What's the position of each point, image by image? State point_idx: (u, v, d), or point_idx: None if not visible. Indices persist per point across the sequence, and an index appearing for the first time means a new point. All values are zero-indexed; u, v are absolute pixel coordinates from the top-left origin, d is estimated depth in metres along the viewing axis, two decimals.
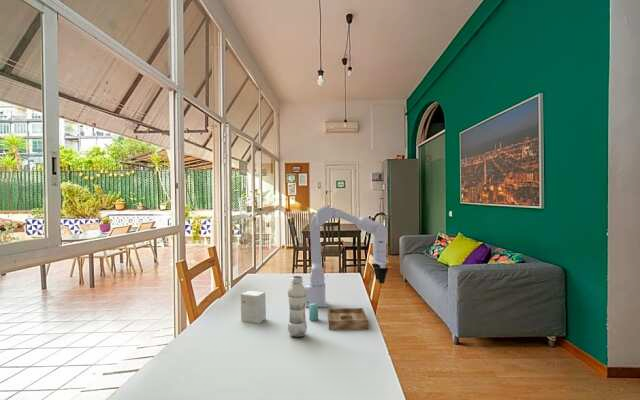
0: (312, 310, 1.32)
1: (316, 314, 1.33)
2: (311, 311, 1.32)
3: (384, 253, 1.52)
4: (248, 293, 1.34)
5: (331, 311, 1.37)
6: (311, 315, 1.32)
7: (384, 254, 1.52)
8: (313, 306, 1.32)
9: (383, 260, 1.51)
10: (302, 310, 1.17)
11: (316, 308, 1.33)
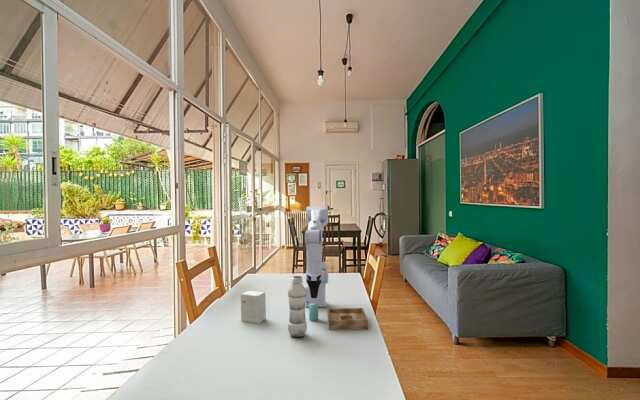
0: (312, 310, 1.32)
1: (316, 314, 1.33)
2: (311, 311, 1.32)
3: (318, 263, 1.32)
4: (248, 293, 1.34)
5: (331, 311, 1.37)
6: (311, 315, 1.32)
7: (318, 264, 1.32)
8: (313, 306, 1.32)
9: (317, 271, 1.32)
10: (302, 310, 1.17)
11: (316, 308, 1.33)
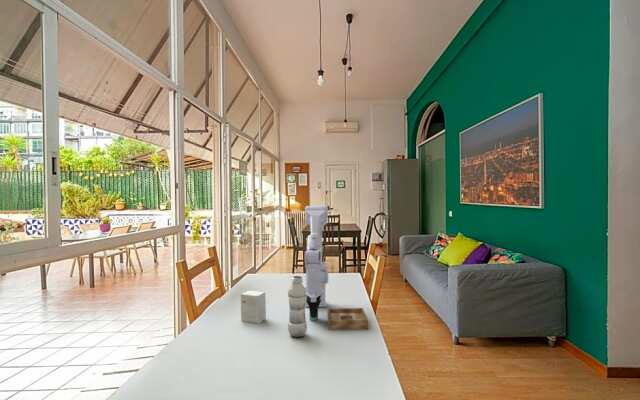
0: None
1: None
2: None
3: (317, 284, 1.32)
4: (248, 293, 1.34)
5: (331, 311, 1.37)
6: None
7: (317, 285, 1.32)
8: None
9: (316, 292, 1.31)
10: (302, 310, 1.17)
11: None
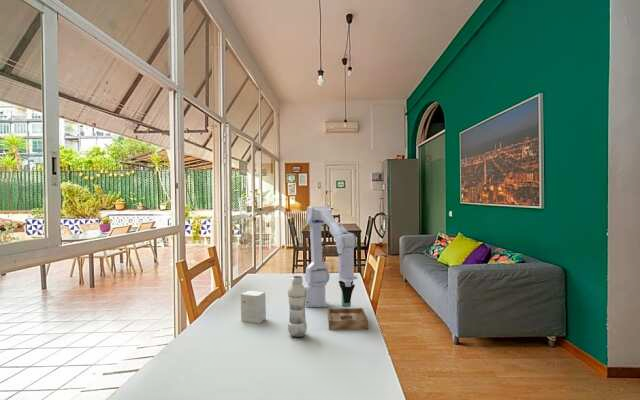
0: None
1: None
2: None
3: (351, 268, 1.28)
4: (248, 293, 1.34)
5: (331, 311, 1.37)
6: None
7: (351, 269, 1.28)
8: None
9: (350, 277, 1.28)
10: (302, 310, 1.17)
11: None
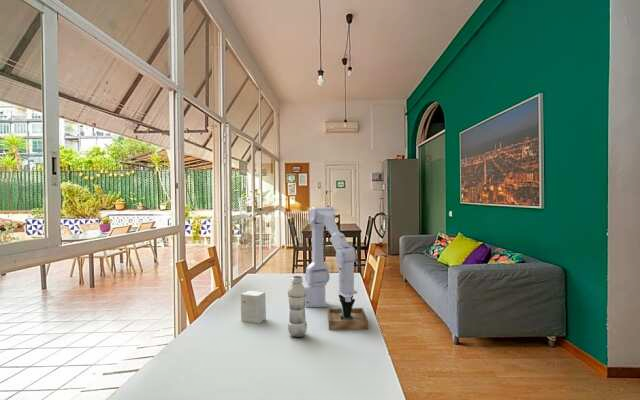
0: None
1: None
2: None
3: (351, 283, 1.28)
4: (248, 293, 1.34)
5: (331, 311, 1.37)
6: None
7: (351, 284, 1.28)
8: None
9: (350, 291, 1.28)
10: (302, 310, 1.17)
11: None
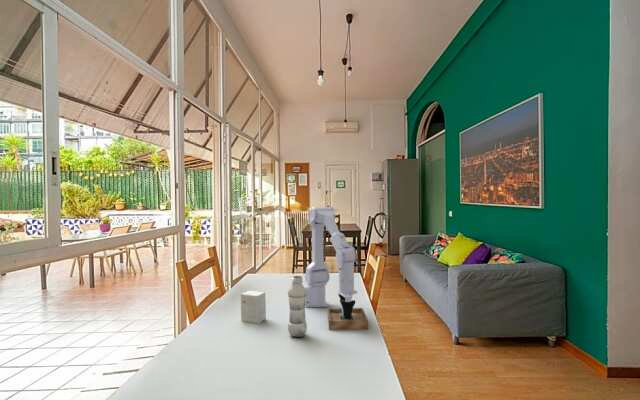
0: None
1: None
2: None
3: (351, 283, 1.28)
4: (248, 293, 1.34)
5: (331, 311, 1.37)
6: (344, 318, 1.29)
7: (351, 284, 1.28)
8: None
9: (350, 291, 1.28)
10: (302, 310, 1.17)
11: None
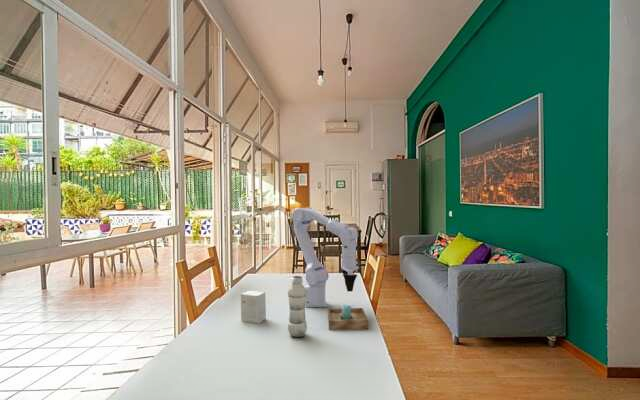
0: (345, 312, 1.29)
1: (349, 317, 1.29)
2: (344, 314, 1.29)
3: (353, 259, 1.42)
4: (248, 293, 1.34)
5: (331, 311, 1.37)
6: (344, 318, 1.29)
7: (353, 260, 1.42)
8: (346, 309, 1.29)
9: (352, 266, 1.41)
10: (302, 310, 1.17)
11: (349, 311, 1.29)
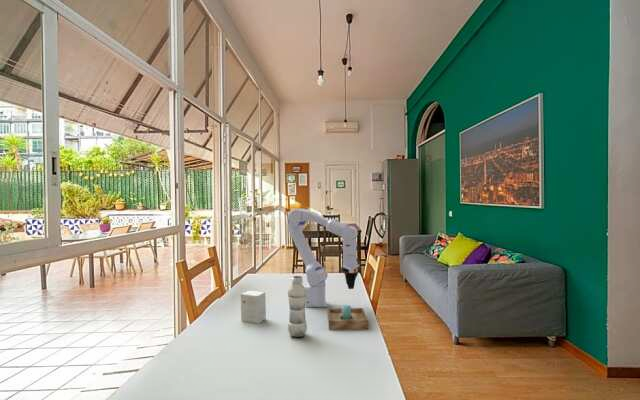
0: (345, 312, 1.29)
1: (349, 317, 1.29)
2: (344, 314, 1.29)
3: (354, 257, 1.45)
4: (248, 293, 1.34)
5: (331, 311, 1.37)
6: (344, 318, 1.29)
7: (354, 258, 1.45)
8: (346, 309, 1.29)
9: (353, 264, 1.45)
10: (302, 310, 1.17)
11: (349, 311, 1.29)
